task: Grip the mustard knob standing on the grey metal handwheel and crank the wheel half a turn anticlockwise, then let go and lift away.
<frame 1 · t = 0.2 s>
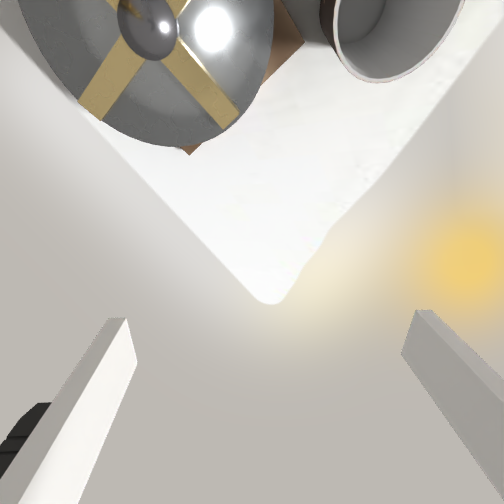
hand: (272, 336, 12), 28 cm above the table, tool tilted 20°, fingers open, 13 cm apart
handwheel: (134, 30, 16), point 12 cm above the table, hinge at 0.0°
wheel stand: (172, 18, 25), on the table
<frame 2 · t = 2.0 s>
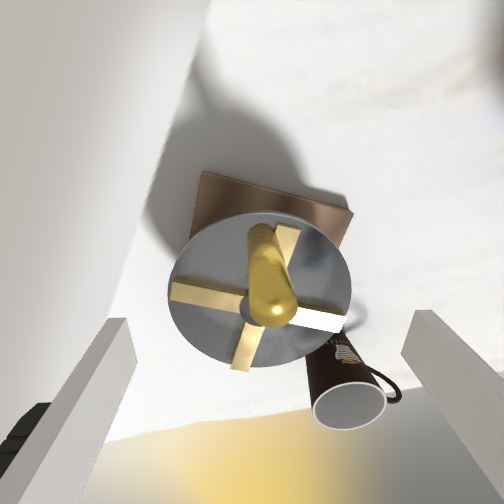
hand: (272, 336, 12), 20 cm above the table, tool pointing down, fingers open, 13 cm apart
coffee mug: (331, 346, 40), on the table
handwheel: (263, 333, 22), point 12 cm above the table, hinge at 0.0°
wheel stand: (256, 264, 34), on the table
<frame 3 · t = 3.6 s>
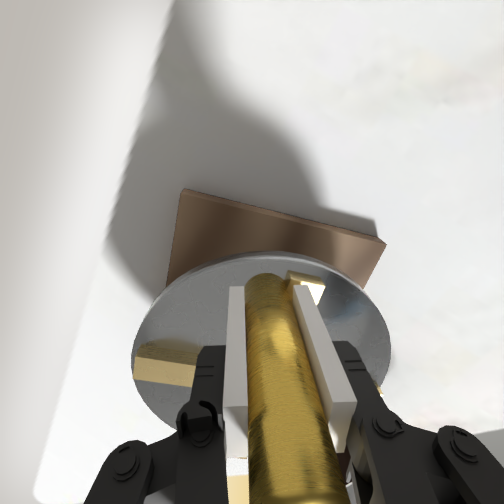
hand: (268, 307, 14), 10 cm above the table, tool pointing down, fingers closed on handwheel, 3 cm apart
coffee mug: (348, 397, 33), on the table
handwheel: (269, 438, 15), point 12 cm above the table, hinge at -0.1°, touching gripper
wheel stand: (256, 305, 26), on the table
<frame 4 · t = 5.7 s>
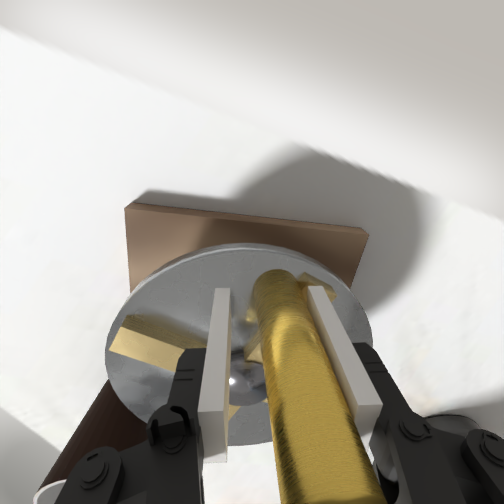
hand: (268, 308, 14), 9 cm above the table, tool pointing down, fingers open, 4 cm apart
coffee mug: (130, 397, 31), on the table
handwheel: (246, 436, 15), point 12 cm above the table, hinge at 66.7°, touching gripper
wheel stand: (240, 300, 25), on the table
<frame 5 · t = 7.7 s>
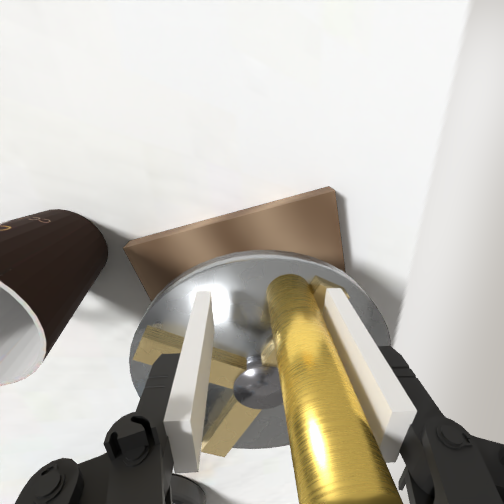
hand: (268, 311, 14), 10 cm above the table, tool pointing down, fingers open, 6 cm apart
coffee mug: (50, 243, 22), on the table
handwheel: (268, 439, 15), point 12 cm above the table, hinge at 138.2°
wheel stand: (255, 304, 26), on the table
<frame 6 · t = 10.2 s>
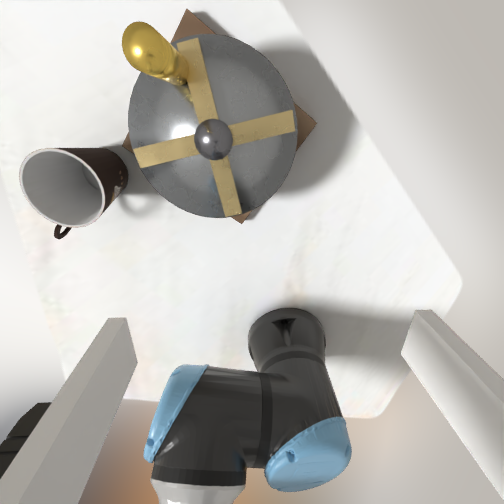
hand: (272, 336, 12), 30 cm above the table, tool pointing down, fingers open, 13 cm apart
coffee mug: (98, 177, 38), on the table
handwheel: (210, 143, 25), point 12 cm above the table, hinge at 138.2°
wheel stand: (219, 133, 36), on the table
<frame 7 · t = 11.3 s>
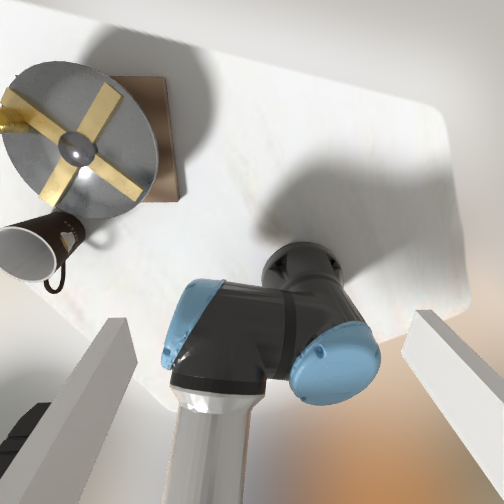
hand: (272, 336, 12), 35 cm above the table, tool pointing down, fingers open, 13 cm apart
coffee mug: (65, 237, 46), on the table
handwheel: (60, 152, 29), point 12 cm above the table, hinge at 138.2°
wheel stand: (109, 144, 40), on the table
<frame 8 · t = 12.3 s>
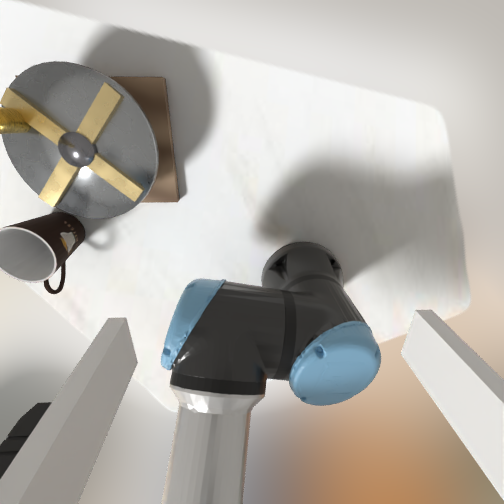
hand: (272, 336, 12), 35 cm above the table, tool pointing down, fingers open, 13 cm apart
coffee mug: (65, 237, 46), on the table
handwheel: (60, 152, 29), point 12 cm above the table, hinge at 138.2°
wheel stand: (109, 144, 40), on the table
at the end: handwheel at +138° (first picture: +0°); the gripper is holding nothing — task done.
